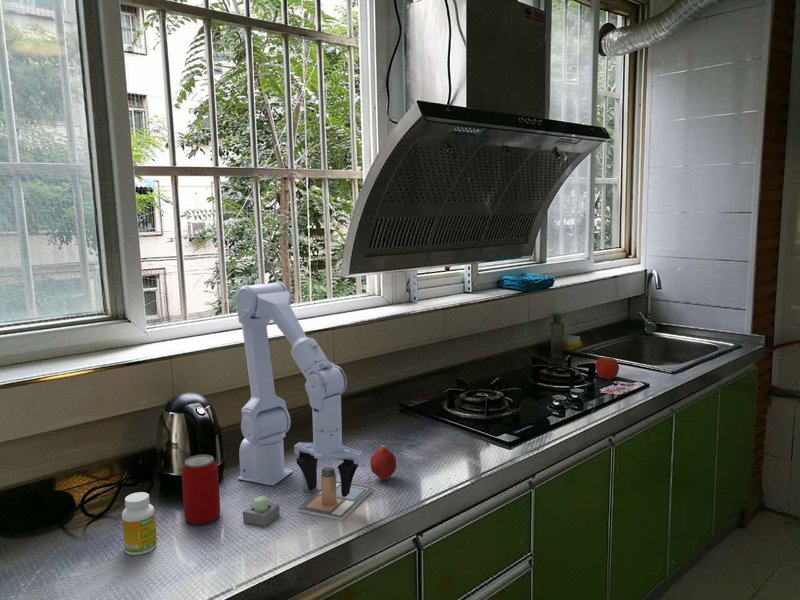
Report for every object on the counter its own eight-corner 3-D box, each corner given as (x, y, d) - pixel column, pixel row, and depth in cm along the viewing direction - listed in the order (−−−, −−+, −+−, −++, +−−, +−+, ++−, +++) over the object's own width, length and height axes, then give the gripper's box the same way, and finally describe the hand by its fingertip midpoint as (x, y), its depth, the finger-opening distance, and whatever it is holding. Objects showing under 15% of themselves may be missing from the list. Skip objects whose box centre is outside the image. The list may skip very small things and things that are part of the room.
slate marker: (300, 490, 136) (299, 459, 135) (307, 484, 138) (306, 454, 137) (312, 492, 134) (311, 461, 133) (319, 487, 137) (318, 456, 136)
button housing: (243, 522, 122) (242, 511, 122) (258, 510, 127) (258, 500, 126) (265, 526, 120) (264, 516, 120) (279, 515, 125) (279, 504, 124)
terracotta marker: (319, 504, 127) (318, 471, 126) (326, 498, 130) (325, 465, 129) (332, 507, 126) (331, 473, 125) (339, 500, 129) (338, 468, 128)
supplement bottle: (143, 558, 110) (139, 505, 109) (117, 553, 111) (113, 501, 110) (163, 542, 115) (159, 491, 114) (138, 538, 116) (134, 488, 115)
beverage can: (224, 509, 127) (221, 452, 126) (215, 526, 121) (212, 466, 119) (190, 510, 127) (186, 453, 125) (180, 527, 120) (176, 467, 119)
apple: (607, 382, 215) (607, 360, 214) (590, 377, 222) (590, 355, 221) (623, 379, 219) (624, 357, 218) (605, 374, 226) (606, 353, 225)
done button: (251, 516, 123) (250, 501, 122) (259, 510, 125) (258, 495, 125) (263, 519, 121) (262, 503, 121) (271, 512, 124) (270, 497, 124)
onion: (382, 472, 145) (381, 438, 143) (402, 478, 141) (401, 444, 140) (365, 480, 140) (364, 446, 139) (385, 487, 136) (384, 452, 135)
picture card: (297, 511, 126) (297, 508, 126) (331, 483, 139) (331, 480, 139) (341, 520, 122) (341, 517, 122) (372, 490, 135) (372, 487, 135)
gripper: (285, 429, 125) (287, 494, 127) (350, 438, 120) (352, 506, 122) (303, 418, 132) (305, 480, 134) (366, 426, 126) (367, 491, 128)
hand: (329, 491), depth 128 cm, fingers open, 7 cm apart
